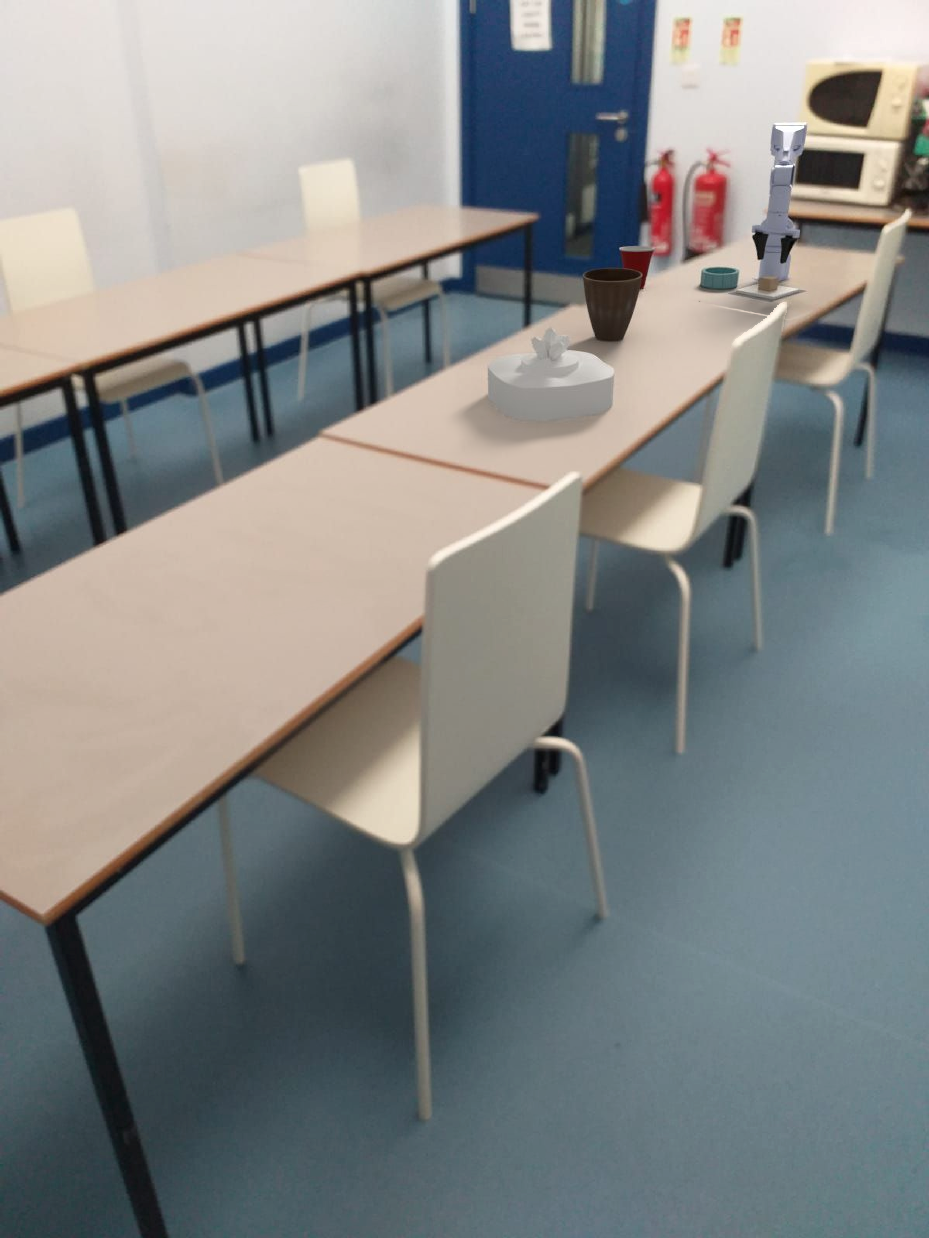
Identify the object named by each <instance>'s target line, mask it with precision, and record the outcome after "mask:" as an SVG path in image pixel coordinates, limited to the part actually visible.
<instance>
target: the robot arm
mask: <svg viewBox="0 0 929 1238" xmlns="http://www.w3.org/2000/svg"><path fill="white" fill-rule="evenodd" d="M807 130H808V123H807V122H805V121H804V122H774V123H773V124H772V127H771V137H770V155H771V156H773V157H774V160H773V167H772V168H771V170H770V177H769V193H768V194H769V197H768V205H767V214H766V217H765V219H763V220H762V221H761V223H760V224H754V225H752V226H751V233H753V234H752V236H751V238H752V241H753V242H754V246H755V250H756V257H757V258H756V259H757V261H759V269H758V276H756V277H752V280H756V281H759V277H763V276H766V275H769V276H775V277H779V281H778V282H780V281H784V280H787V279H790V278H792V277H791V276H789V275H790V266H791V262H792V261H791V260H792V259H791V258H792V256H791V251H792V249H793V247H794V246H795V244H796V243H797V241H798V239H799V238H800V236H801V235H800V234H801V233H800V232H801V230H800V229H795V228H794V223H793V220H791V219H790V218H789V212H790V211H789V210H790V203H791V194H792V188H793V187H794V184H795V178H796V177H795V176H796V170H797V169H796V159H797V157H799V156H802V154H803V151H804V148H805V144H806V137H807Z"/></svg>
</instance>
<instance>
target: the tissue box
mask: <svg viewBox="0 0 929 1238" xmlns="http://www.w3.org/2000/svg"><path fill="white" fill-rule="evenodd" d="M569 335H570V334H563V335H562V334H561V335H560V336H558V333H557V330H555V329H554V328H553V327H552V326H550V327H549V328H547V329H546V330H545V332H544V334H543V337H542V339H541V338H539V337H536V336H534V337H533V338H531V339H530V342H531V345H532V348H533V350H534V351H535V352H531V353H516V354H506V355H502V356H499V357H496V358H495V359H493V360H491V361H490V362H488V364H487V395H488V396H487V397H488V401H489V402H490V403H491V404H492V406H494V408H496V409H497V410H498V411H499V412H500V413H501V414H502V415H503V416H506V418H507V417H508V418H510V419H513V420H517V421H523V422H538V423H539V422H553V421H559V420H569V419H576V418H577V419H578V418H582V417H583V418H584V417H590V416H595V415H599V414H602V413H605V412H607V411H610V410H611V409H612V408H613V406H614V405H613V404H614V403H613V402H614V387H615V386H614V385H615V384H614V383H615V368H613V366H611V365H609V364H608V363H605V362H604V361H602V360H601V359H600V358H599V357H598V356H596V355H595V354H593V353H590V352H587V351H580V350H573V349H568V348H569V345H570V342H571V341H570V340H571V339H570V336H569Z"/></svg>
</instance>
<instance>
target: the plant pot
mask: <svg viewBox="0 0 929 1238" xmlns="http://www.w3.org/2000/svg"><path fill="white" fill-rule="evenodd" d="M641 280H642V273H641V272H639V271H636V270H632V269H624V268H623V267H622V268H621V267H620V268H619V267H605V268H596V269H590V270H587V271H585V272H584V273H583V274H582V281H583V289H584V297H585V303H586V308H587V313H588V317H589V321H590V325H591V329H592V332H593V334H594V337H595V339H597V340H599V341H601V342H602V341H603V342H618V341H621V340H623V339H624V338H625V336H626V333H627V331H628V328H629V326H630V323H631V320H632V317H633V315H634V312H635V309H636V306H637V301H638V297H639V293H640V290H641V289H640V285H641Z"/></svg>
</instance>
